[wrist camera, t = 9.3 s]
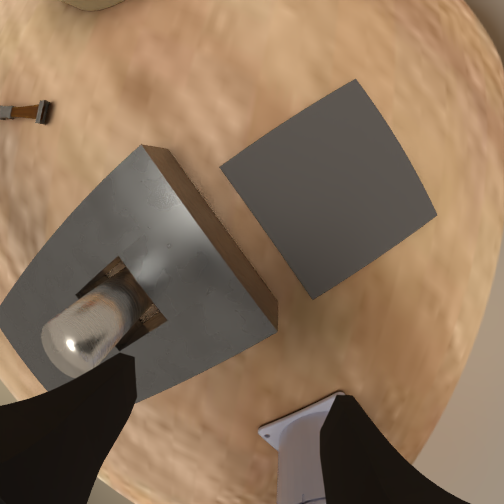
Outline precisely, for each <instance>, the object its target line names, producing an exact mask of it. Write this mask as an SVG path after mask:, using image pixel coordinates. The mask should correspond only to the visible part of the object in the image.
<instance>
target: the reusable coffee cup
mask: <svg viewBox="0 0 504 504" xmlns="http://www.w3.org/2000/svg"><path fill="white" fill-rule="evenodd" d="M59 1H61V2H64V3H67V4H69V5H71V6H74V7H76V8H79V9H81V10H85V11H96V10H101V9H105V8H108V7H111V6H114V5H116V4H118V3H120V2H122V1H124V0H59Z"/></svg>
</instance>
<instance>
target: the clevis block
mask: <svg viewBox="0 0 504 504" xmlns="http://www.w3.org/2000/svg"><path fill="white" fill-rule="evenodd" d="M121 261H123V263H124V264H125V265H126V267H127V268H128V270H129V271H130V272H131V274H132V275H133V276H134V278H135V279H136V280H137V282H138V283H139V284H140V286H141V287H142V288H143V290H144V291H145V292H146V294H147V295H148V296H149V298H150V299H151V300H152V301H153V303H154V304H155V305H156V307H157V308H158V309H159V310H160V312H159V313H158V314H156V315H155V316H153V317H152V318H150V319H149V320H147V321H146V322H144V323H142V322H141V321H140V320H139V319H138V320H137V321H136V323H135V324H134V325H133V326H132V327H131V328H130V329H129V330H128V332H127V333H126V334H125V335H124V336H123V337H122V338H121V339H120V341H119V342H118V343H117V344H116V345H115V346H114V347H113V349H112V350H111V351H110V352H109V353H108V354H107V355H106V357H105V358H104V359H103V360H102V361H101V362H100V364H101V363H103V362H104V361H106V360H108V359H109V358H111V357H113V356H114V355H116V354H118V353H123V354H127V355H130V356H133V357H135V372H136V387H137V399H136V401H135V403H138V402H140V401H142V400H144V399H147V398H149V397H151V396H153V395H155V394H158V393H160V392H162V391H164V390H166V389H168V388H171V387H173V386H175V385H177V384H179V383H181V382H183V381H185V380H187V379H189V378H191V377H193V376H195V375H198V374H200V373H202V372H204V371H206V370H208V369H209V368H211V367H213V366H215V365H217V364H219V363H221V362H223V361H225V360H227V359H229V358H231V357H233V356H235V355H236V354H238V353H240V352H242V351H244V350H246V349H248V348H249V347H251V346H253V345H255V344H257V343H259V342H260V341H262V340H264V339H266V338H268V337H269V336H271V335H273V334H275V333H276V332H278V301H277V300H276V299H275V297H274V296H273V294H272V293H271V292H270V290H269V289H268V288H267V286H266V285H265V283H264V282H263V281H262V279H261V278H260V277H259V275H258V274H257V272H256V271H255V270H254V268H253V267H252V266H251V264H250V263H249V261H248V260H247V259H246V257H245V256H244V255H243V253H242V252H241V250H240V249H239V248H238V246H237V245H236V243H235V242H234V241H233V239H232V238H231V237H230V235H229V234H228V232H227V231H226V230H225V228H224V227H223V225H222V224H221V223H220V221H219V220H218V219H217V217H216V216H215V214H214V213H213V212H212V210H211V209H210V207H209V206H208V205H207V203H206V202H205V200H204V199H203V198H202V196H201V195H200V193H199V192H198V191H197V189H196V188H195V187H194V185H193V184H192V182H191V181H190V180H189V178H188V177H187V175H186V174H185V173H184V171H183V170H182V168H181V167H180V166H179V164H178V163H177V161H176V160H175V159H174V157H173V156H172V154H171V153H170V151H169V150H168V149H164V148H159V147H153V146H147V145H142V144H141V145H140V146H139V147H138V148H137V149H136V150H134V151H133V152H132V153H131V154H130V155H129V156H128V157H127V158H126V159H125V160H124V161H122V162H121V163H120V164H119V165H118V166H117V167H116V168H115V169H114V170H113V171H112V172H111V173H110V174H109V175H108V176H107V177H106V178H105V179H104V180H103V181H102V182H101V183H100V184H99V185H98V186H97V187H96V188H95V189H94V190H93V191H92V192H91V193H90V194H89V195H88V196H87V197H86V198H85V199H84V200H83V201H82V202H81V204H80V205H79V206H78V207H77V208H76V209H75V210H74V211H73V212H72V213H71V215H70V216H69V217H68V218H67V219H66V220H65V221H64V222H63V224H62V225H61V226H60V227H59V228H58V229H57V231H56V232H55V233H54V234H53V235H52V236H51V238H50V239H49V240H48V241H47V243H46V244H45V245H44V246H43V247H42V249H41V250H40V251H39V253H38V254H37V255H36V256H35V258H34V259H33V260H32V262H31V263H30V264H29V265H28V267H27V268H26V269H25V271H24V272H23V274H22V275H21V276H20V278H19V279H18V280H17V282H16V283H15V285H14V286H13V288H12V289H11V290H10V292H9V293H8V295H7V296H6V298H5V299H4V301H3V302H2V304H1V305H0V328H1V330H2V332H3V333H4V335H5V336H6V338H7V339H8V340H9V342H10V343H11V345H12V346H13V348H14V349H15V350H16V352H17V353H18V355H19V356H20V357H21V359H22V360H23V361H24V363H25V364H26V365H27V367H28V368H29V369H30V370H31V372H32V373H33V374H34V376H35V377H36V378H37V379H38V380H39V382H40V383H41V384H42V385H43V386H44V388H45V389H46V390H47V391H51V390H53V389H55V388H57V387H59V386H61V385H63V384H65V383H67V382H69V381H71V380H73V379H75V378H72V377H70V376H68V375H66V374H64V373H63V372H62V371H60V370H59V369H58V368H57V367H56V366H55V365H54V364H53V363H52V362H51V360H50V359H49V357H48V356H47V354H46V352H45V350H44V347H43V344H42V339H41V332H42V328H43V326H44V325H45V324H46V323H47V322H49V321H50V320H51V319H53V318H54V317H55V316H57V315H58V314H59V313H61V312H62V311H64V310H65V309H66V308H68V307H69V306H70V305H72V304H73V303H75V302H76V301H77V300H79V299H80V298H82V297H83V296H84V295H86V294H87V293H89V292H90V291H92V290H93V289H94V288H96V287H97V286H99V285H100V284H102V283H103V282H105V281H106V280H107V279H108V277H107V276H106V274H107V273H108V272H109V271H110V270H111V269H112V268H114V267H115V266H116V265H117V264H118V263H119V262H121Z"/></svg>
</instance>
